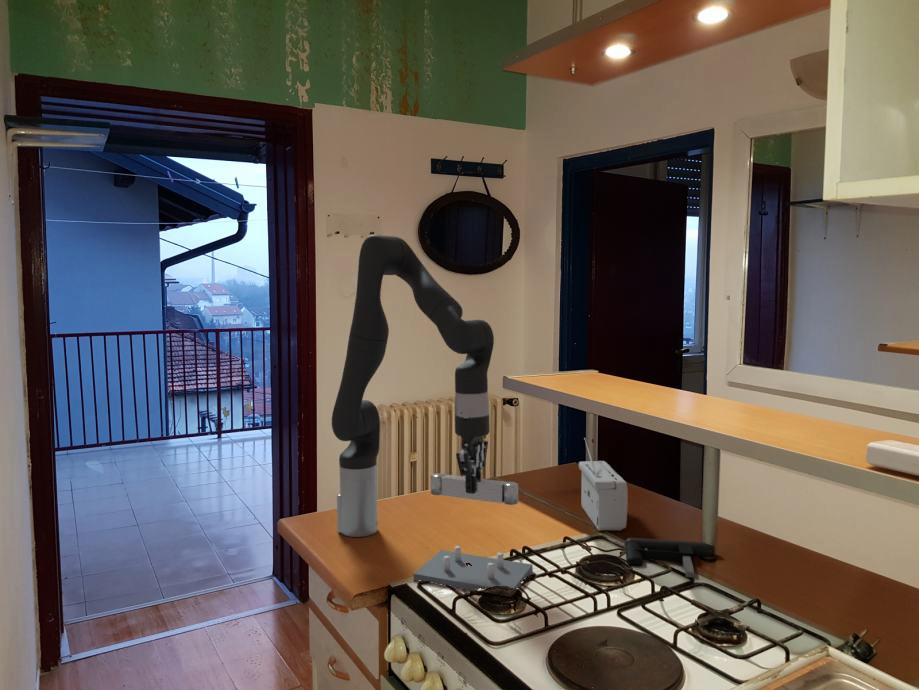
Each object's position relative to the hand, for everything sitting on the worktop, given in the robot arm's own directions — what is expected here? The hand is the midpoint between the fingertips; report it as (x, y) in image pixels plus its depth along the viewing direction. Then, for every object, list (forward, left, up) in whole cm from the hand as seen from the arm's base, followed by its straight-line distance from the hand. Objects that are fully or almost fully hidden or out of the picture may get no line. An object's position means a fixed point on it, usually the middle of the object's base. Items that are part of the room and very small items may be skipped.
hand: (473, 490), depth 153 cm
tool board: (+1, -3, -18) cm, 18 cm away
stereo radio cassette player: (+19, +43, -18) cm, 50 cm away
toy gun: (+40, +20, -18) cm, 48 cm away
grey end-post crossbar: (0, 0, -2) cm, 2 cm away
